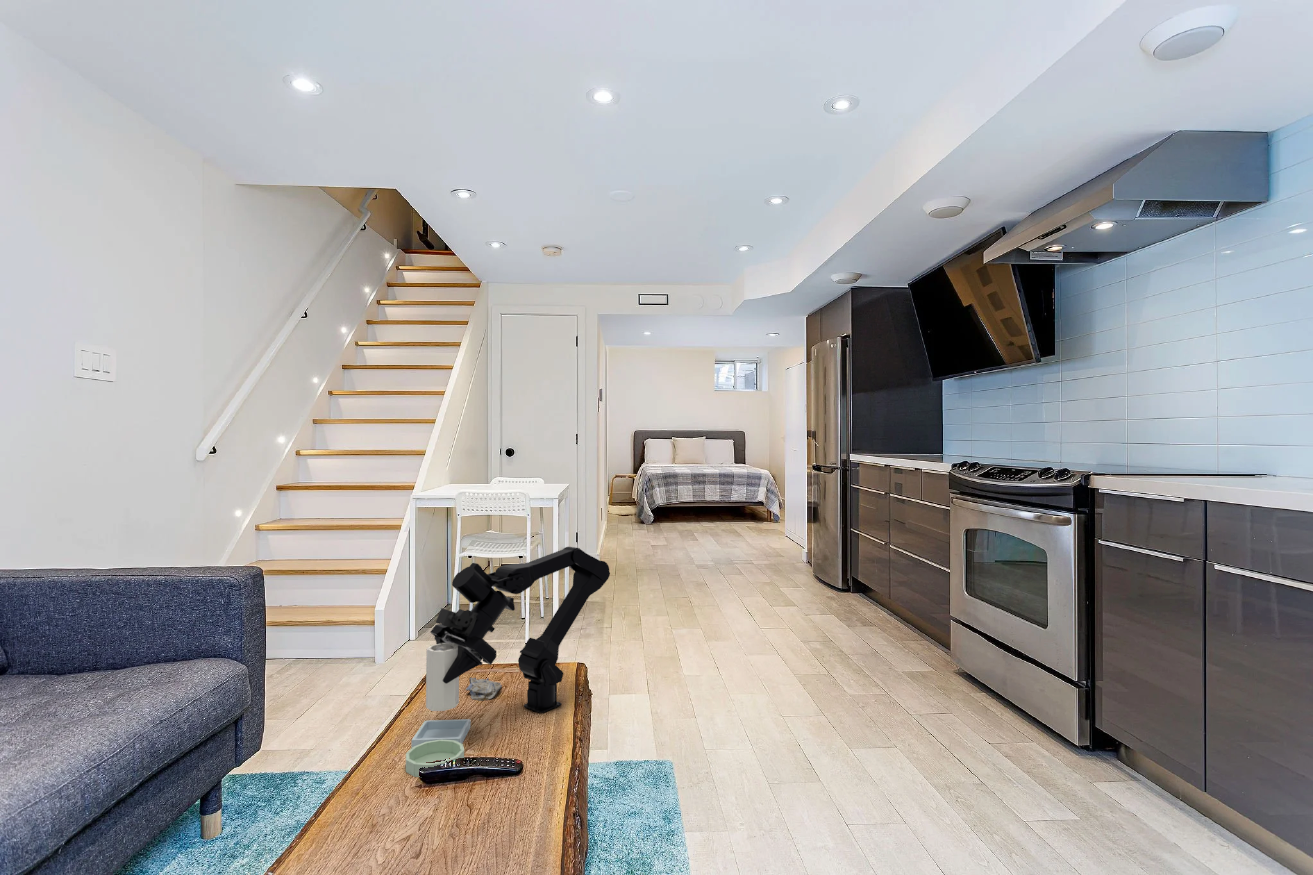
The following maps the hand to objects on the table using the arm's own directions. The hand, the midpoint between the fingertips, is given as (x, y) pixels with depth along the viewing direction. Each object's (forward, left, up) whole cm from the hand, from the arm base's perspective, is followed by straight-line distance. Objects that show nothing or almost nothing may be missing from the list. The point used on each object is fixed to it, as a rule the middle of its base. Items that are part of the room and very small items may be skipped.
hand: (436, 678), depth 134 cm
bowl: (+6, +9, -13) cm, 17 cm away
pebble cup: (-1, 0, -6) cm, 6 cm away
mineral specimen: (-24, -16, -14) cm, 32 cm away
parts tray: (-1, 0, -13) cm, 13 cm away
